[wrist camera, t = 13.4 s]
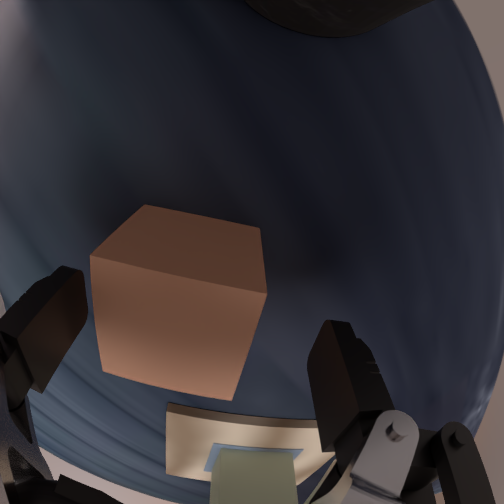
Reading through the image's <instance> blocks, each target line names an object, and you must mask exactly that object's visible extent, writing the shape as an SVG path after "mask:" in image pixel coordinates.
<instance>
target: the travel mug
mask: <svg viewBox="0 0 504 504" xmlns="http://www.w3.org/2000/svg"><path fill="white" fill-rule="evenodd" d="M244 1H245V2H246V3H247V4H249V5H250V6H251V7H252V8H253V9H254V10H255V11H257V12H258V13H260V14H261V15H262V16H264V17H266V18H267V19H269V20H271V21H272V22H275V23H277V24H279V25H281V26H283V27H286V28H288V29H291V30H294V31H297V32H301V33H304V34H309V35H314V36H322V37H348V36H354V35H359V34H362V33H365V32H368V31H370V30H372V29H374V28H376V27H378V26H380V25H382V24H384V23H386V22H388V21H390V20H392V19H394V18H396V17H398V16H400V15H402V14H405V13H407V12H409V11H411V10H413V9H415V8H417V7H419V6H422V5H424V4H426V3H429V2H431V1H433V0H244Z"/></svg>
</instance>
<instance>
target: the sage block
mask: <svg viewBox="0 0 504 504" xmlns="http://www.w3.org/2000/svg"><path fill="white" fill-rule="evenodd" d="M210 504H298V499H297V489H296V480H295V471H294V462H293V453H288V452H262V451H248V450H237V449H227V448H221V449H220V452H219V454H218V456H217V459H216V461H215V463H214V466H213V468H212V474H211V489H210Z"/></svg>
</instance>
